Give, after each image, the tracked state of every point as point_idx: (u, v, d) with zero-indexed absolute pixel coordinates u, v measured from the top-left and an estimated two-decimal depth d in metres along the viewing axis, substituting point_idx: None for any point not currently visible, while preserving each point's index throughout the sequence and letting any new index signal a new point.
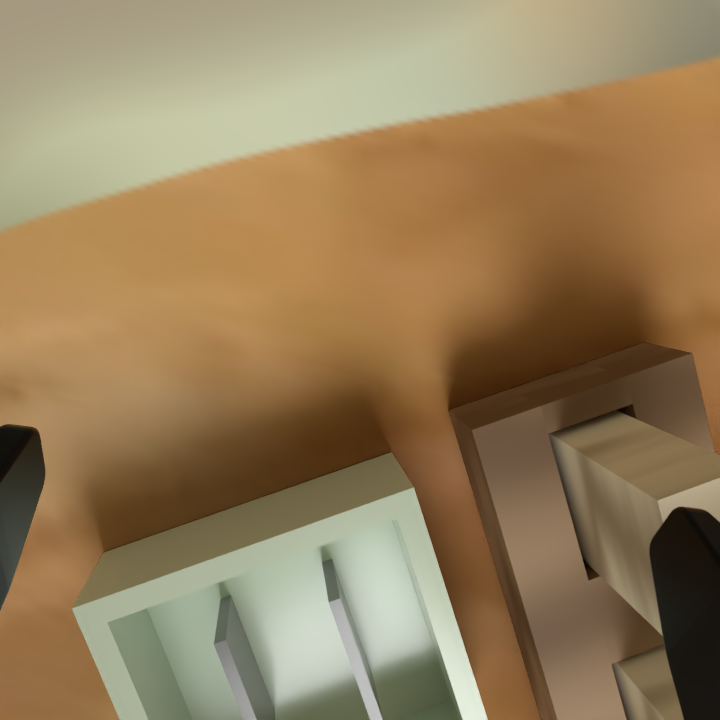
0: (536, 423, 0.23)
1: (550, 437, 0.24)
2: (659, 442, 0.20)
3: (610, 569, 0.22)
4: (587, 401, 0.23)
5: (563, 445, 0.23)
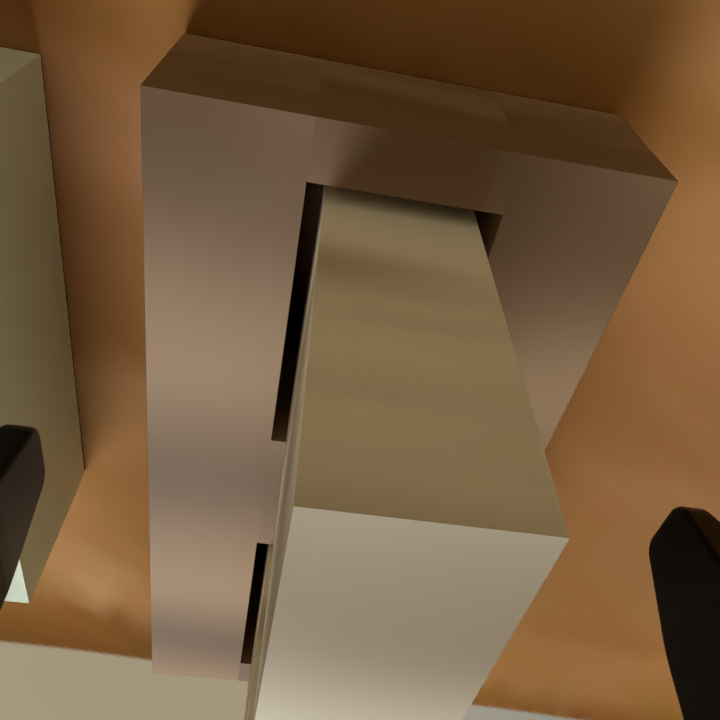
0: (291, 148, 0.10)
1: (323, 191, 0.11)
2: (467, 329, 0.08)
3: (285, 461, 0.12)
4: (418, 161, 0.10)
5: (320, 221, 0.10)
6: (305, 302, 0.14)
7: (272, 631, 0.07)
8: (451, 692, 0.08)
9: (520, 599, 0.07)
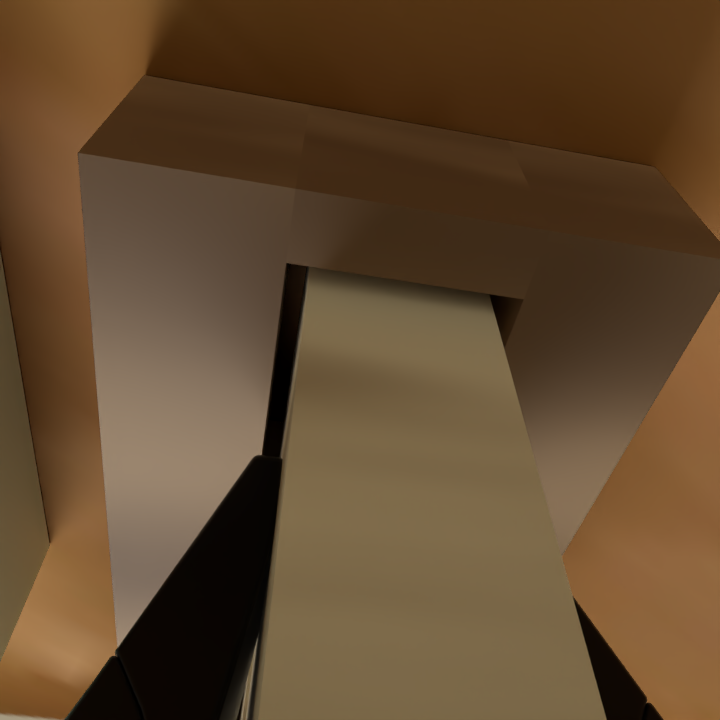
0: (266, 225, 0.08)
1: None
2: (486, 475, 0.07)
3: None
4: (421, 239, 0.08)
5: (304, 311, 0.09)
6: (290, 380, 0.12)
7: None
8: None
9: None
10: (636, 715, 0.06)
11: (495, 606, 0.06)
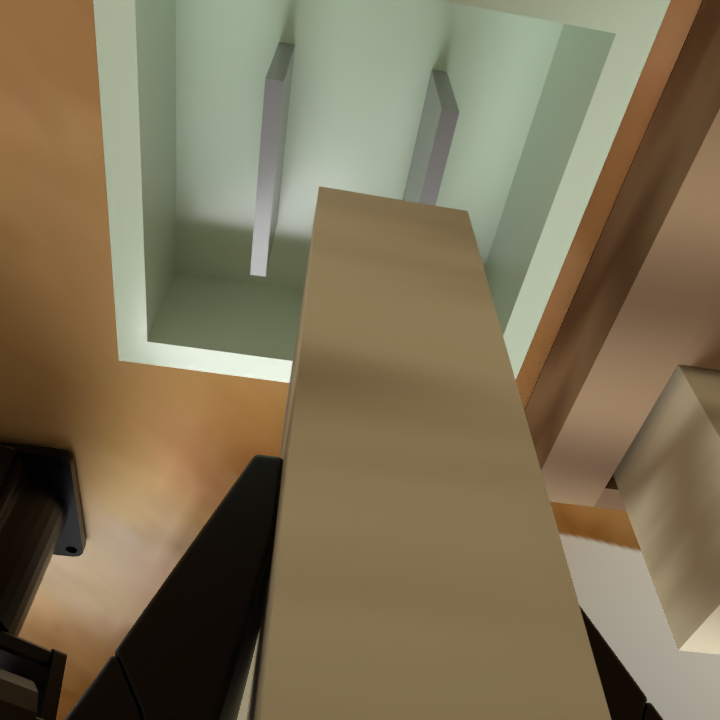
0: None
1: (309, 265, 0.09)
2: (488, 474, 0.07)
3: None
4: None
5: (305, 310, 0.08)
6: (291, 379, 0.12)
7: None
8: None
9: None
10: (636, 715, 0.06)
11: (498, 605, 0.05)
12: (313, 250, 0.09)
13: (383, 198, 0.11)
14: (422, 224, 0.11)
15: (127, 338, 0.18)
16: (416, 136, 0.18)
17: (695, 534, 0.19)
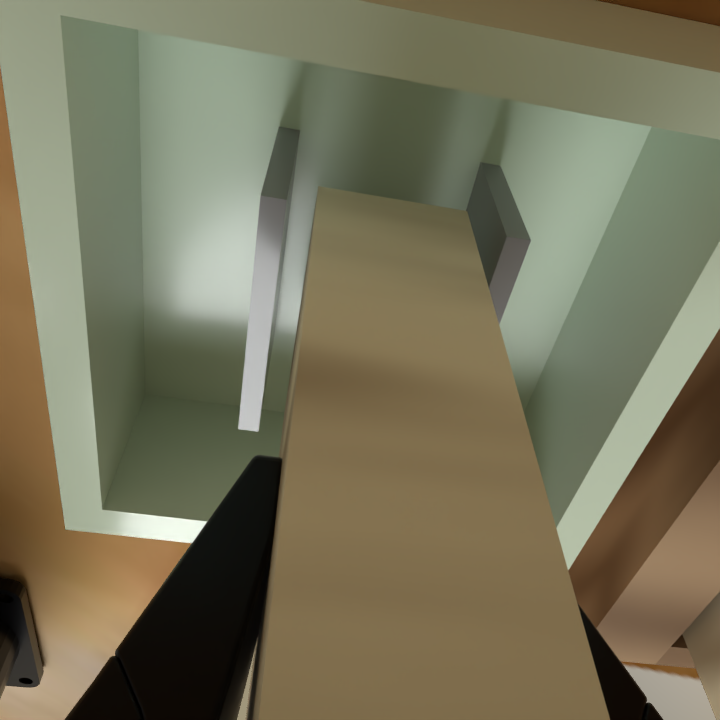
0: None
1: None
2: (487, 474, 0.07)
3: None
4: None
5: (303, 310, 0.08)
6: (290, 379, 0.12)
7: None
8: None
9: None
10: (636, 715, 0.06)
11: (497, 606, 0.05)
12: (312, 250, 0.09)
13: (382, 198, 0.11)
14: (421, 224, 0.11)
15: (75, 505, 0.14)
16: None
17: None
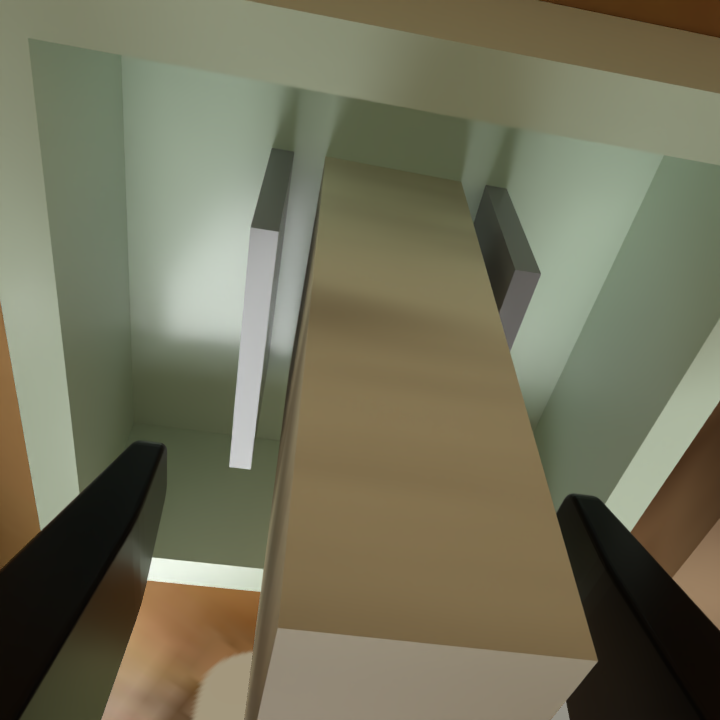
0: None
1: (318, 223, 0.10)
2: (475, 392, 0.08)
3: (272, 512, 0.11)
4: None
5: (314, 259, 0.09)
6: (296, 335, 0.13)
7: None
8: None
9: (537, 719, 0.06)
10: None
11: (481, 487, 0.06)
12: (321, 209, 0.10)
13: (384, 168, 0.12)
14: (419, 192, 0.12)
15: None
16: None
17: None
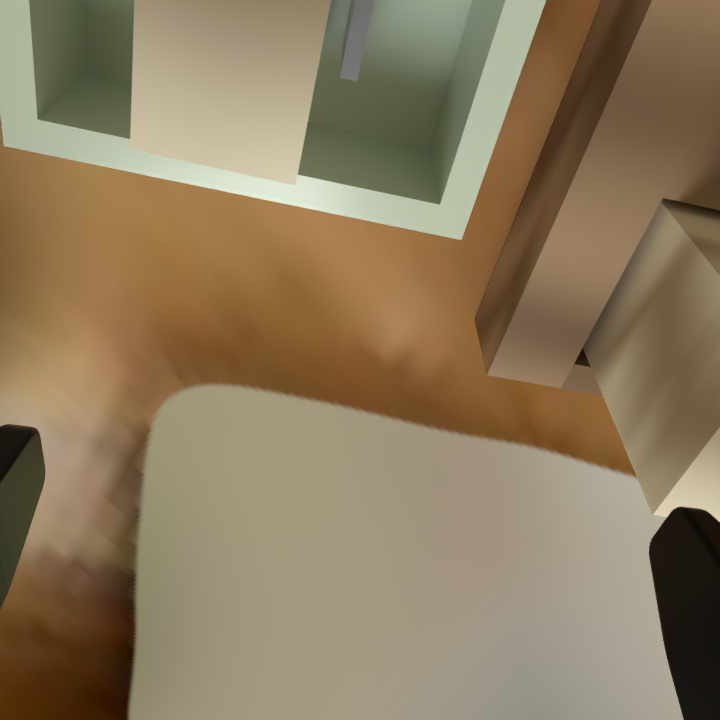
0: None
1: None
2: None
3: None
4: None
5: None
6: None
7: None
8: (299, 44, 0.09)
9: None
10: None
11: None
12: None
13: None
14: None
15: (13, 113, 0.15)
16: None
17: (677, 379, 0.16)
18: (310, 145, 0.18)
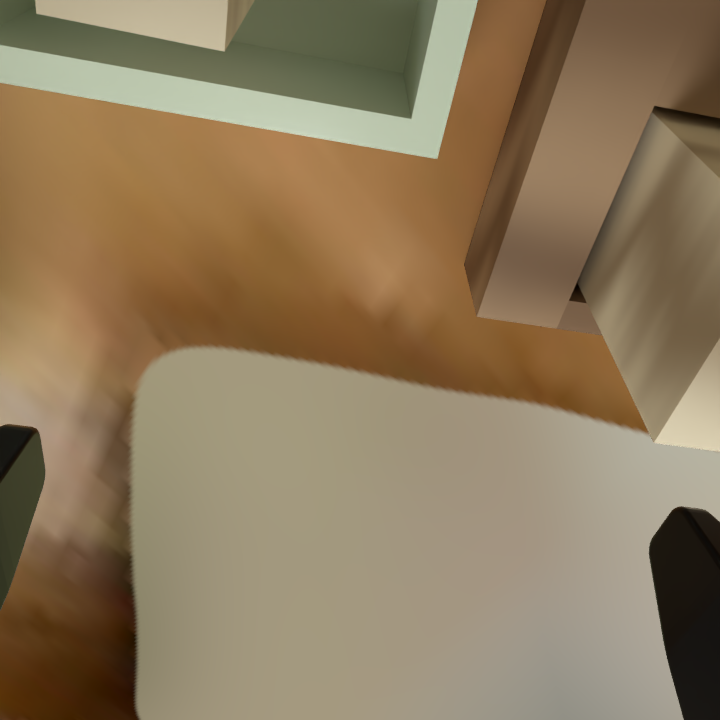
0: None
1: None
2: None
3: None
4: None
5: None
6: None
7: None
8: None
9: None
10: None
11: None
12: None
13: None
14: None
15: None
16: None
17: (675, 294, 0.15)
18: (273, 68, 0.16)
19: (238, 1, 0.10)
